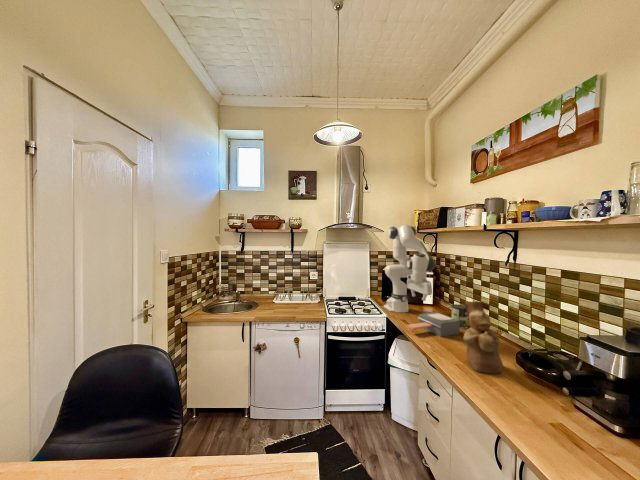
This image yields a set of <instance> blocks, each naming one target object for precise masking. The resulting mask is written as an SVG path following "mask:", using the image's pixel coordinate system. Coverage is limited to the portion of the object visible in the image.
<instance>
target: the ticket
mask: <svg viewBox="0 0 640 480" xmlns="http://www.w3.org/2000/svg"><path fill="white" fill-rule="evenodd" d="M406 326H407V327H408V328H409V329H411V330H420V329H423V328H428V327H433V325H432V324H430V323H427V322H424V323H419V322H418V323H412V324H411V323H410V324H407V325H406Z"/></svg>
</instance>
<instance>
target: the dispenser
mask: <svg viewBox="0 0 640 480" xmlns="http://www.w3.org/2000/svg"><path fill="white" fill-rule="evenodd" d="M451 317H452V316H448V315H447V314H443V313H440V312H439V311H435V312H428V313H420V314H418V317H417V319H418V323H424V322H427V323H430V324H432V325H433V327H428V328H422V329H423V330H425V331H428V332H430V333H432V334H433V335H436V336H438V337H440V338H442V337H448V336H453V335H454V334H455V335H460V333H461V332H460V331H461V330H460V329H461V328H460V321H459V320H456V319H454V318H451Z"/></svg>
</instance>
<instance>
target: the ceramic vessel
mask: <svg viewBox="0 0 640 480" xmlns="http://www.w3.org/2000/svg"><path fill="white" fill-rule="evenodd" d="M464 306H466V310H467V314H468V322H469V325H470V327H469V328H466V330H465V332H464V334H463V341H464V343H465V347H466V352H465V353H466V360H467V362H468V364H469V366H470V367H471V368H472V369H473V370H475V371H476V372H479V373H485V374H501V373H502V372H503V369H504V364H503V361H502V359H501V356H500V354H499V351H498V347H499V345H500V343H501V341H500V338H499V337H498V335H497V333H495V332H494V331H493V330H492V329H490V328H491V325H492V324H491V319H490V316H489V315H488V314H487V312H486V311H485V310H484V306H483V302H482V301H465V302H464Z"/></svg>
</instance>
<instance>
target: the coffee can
mask: <svg viewBox="0 0 640 480" xmlns="http://www.w3.org/2000/svg"><path fill="white" fill-rule="evenodd" d="M450 317H451V318H454V319H456V320H459V321H460V329H461V330H463V329H469V328H468V327H469V326H468V322H469V318H468V314H467V310H466V306H465V304H463V305H462V304H457V303H456V304H452V305H451V316H450Z"/></svg>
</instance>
